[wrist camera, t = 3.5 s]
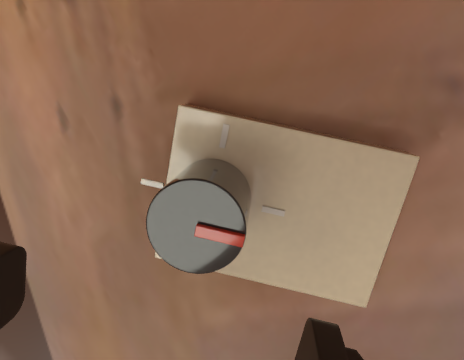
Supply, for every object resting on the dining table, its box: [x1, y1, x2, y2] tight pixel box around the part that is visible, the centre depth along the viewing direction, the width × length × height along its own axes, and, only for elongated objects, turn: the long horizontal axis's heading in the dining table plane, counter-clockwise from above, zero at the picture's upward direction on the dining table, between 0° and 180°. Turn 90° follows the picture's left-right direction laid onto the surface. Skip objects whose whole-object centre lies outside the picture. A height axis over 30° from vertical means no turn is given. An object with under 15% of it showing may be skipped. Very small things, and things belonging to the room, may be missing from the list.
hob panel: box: [141, 104, 420, 308], centre depth 21 cm, size 16×10×2 cm, turn 78°
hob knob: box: [146, 159, 252, 274], centre depth 18 cm, size 5×5×5 cm
